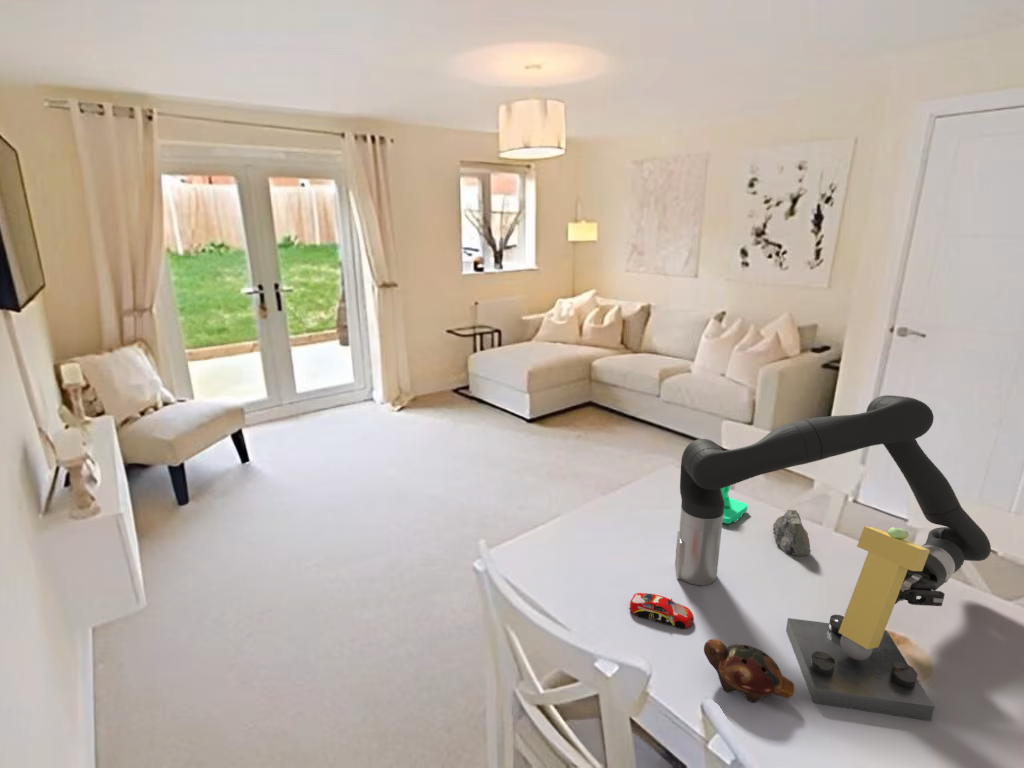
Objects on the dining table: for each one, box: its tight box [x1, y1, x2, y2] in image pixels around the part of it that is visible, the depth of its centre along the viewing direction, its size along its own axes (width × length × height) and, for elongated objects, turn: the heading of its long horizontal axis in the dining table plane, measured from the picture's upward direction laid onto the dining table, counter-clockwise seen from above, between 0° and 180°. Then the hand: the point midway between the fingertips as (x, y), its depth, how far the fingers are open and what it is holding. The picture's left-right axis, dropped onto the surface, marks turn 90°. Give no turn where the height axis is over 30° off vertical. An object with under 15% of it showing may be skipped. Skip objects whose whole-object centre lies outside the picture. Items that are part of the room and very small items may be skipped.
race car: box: [629, 592, 695, 630], centre depth 116 cm, size 13×5×4 cm, turn 65°
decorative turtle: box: [703, 638, 795, 704], centre depth 96 cm, size 10×15×8 cm, turn 68°
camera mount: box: [721, 485, 749, 524], centre depth 154 cm, size 12×8×10 cm, turn 132°
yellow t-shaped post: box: [838, 525, 930, 660], centre depth 99 cm, size 5×9×25 cm, turn 33°
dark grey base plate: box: [785, 614, 935, 722], centre depth 100 cm, size 18×18×5 cm
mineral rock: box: [772, 509, 812, 557], centre depth 141 cm, size 13×11×10 cm
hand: (884, 599), depth 102 cm, fingers closed
